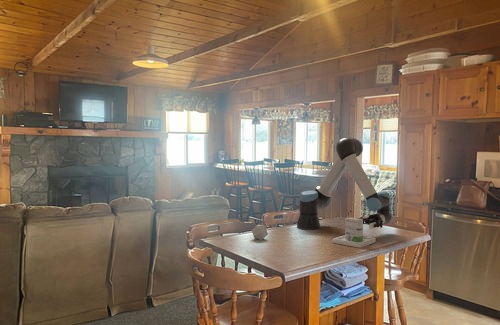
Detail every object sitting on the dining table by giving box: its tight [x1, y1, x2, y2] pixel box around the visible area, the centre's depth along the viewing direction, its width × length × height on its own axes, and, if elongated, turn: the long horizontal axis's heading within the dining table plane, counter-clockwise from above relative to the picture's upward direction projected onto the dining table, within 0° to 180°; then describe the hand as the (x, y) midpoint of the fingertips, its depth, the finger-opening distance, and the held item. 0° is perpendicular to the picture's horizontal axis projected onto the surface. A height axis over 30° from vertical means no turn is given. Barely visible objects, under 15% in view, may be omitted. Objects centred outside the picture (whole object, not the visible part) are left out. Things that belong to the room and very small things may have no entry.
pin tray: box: [332, 234, 377, 248], centre depth 206 cm, size 16×18×5 cm
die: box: [251, 224, 269, 241], centre depth 213 cm, size 8×9×10 cm
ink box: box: [344, 217, 364, 242], centre depth 206 cm, size 9×5×12 cm, turn 40°
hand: (358, 224), depth 209 cm, fingers open, 13 cm apart
